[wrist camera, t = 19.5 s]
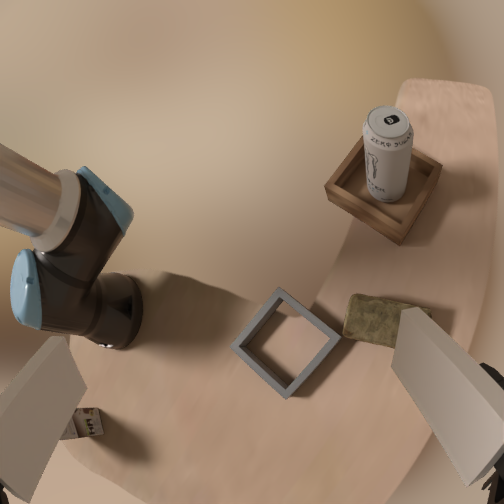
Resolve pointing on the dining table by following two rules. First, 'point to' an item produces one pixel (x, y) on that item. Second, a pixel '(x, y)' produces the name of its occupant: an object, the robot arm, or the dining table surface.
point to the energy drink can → (387, 152)
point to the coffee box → (83, 424)
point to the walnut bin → (377, 212)
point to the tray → (255, 326)
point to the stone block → (375, 319)
